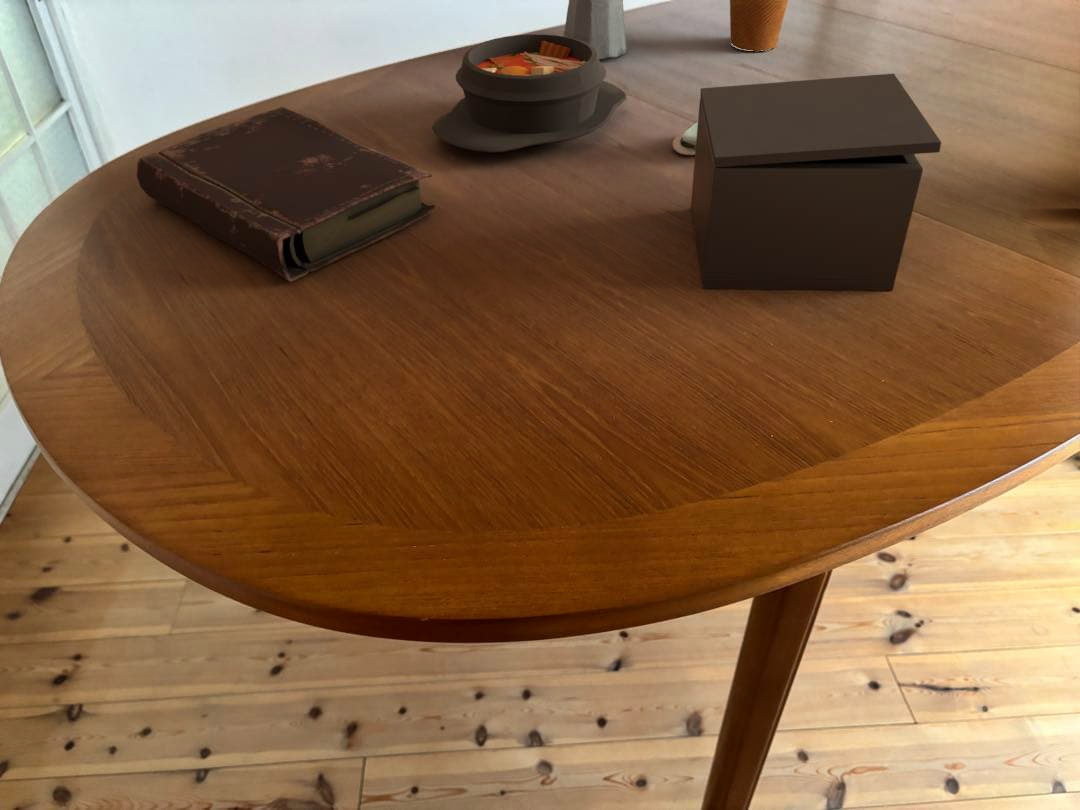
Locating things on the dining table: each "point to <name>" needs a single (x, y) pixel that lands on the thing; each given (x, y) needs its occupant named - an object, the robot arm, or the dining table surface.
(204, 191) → the diary
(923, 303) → the dining table surface
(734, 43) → the disposable coffee cup
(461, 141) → the casserole
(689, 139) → the pacifier
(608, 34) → the moka pot
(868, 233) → the dark open-top crate
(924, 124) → the lid
